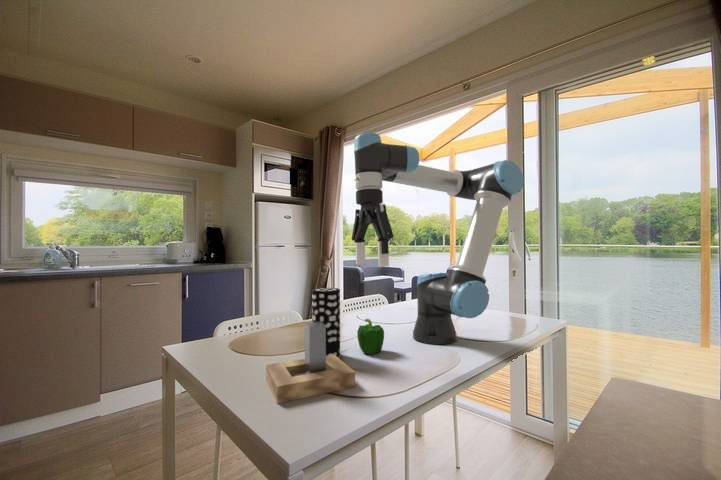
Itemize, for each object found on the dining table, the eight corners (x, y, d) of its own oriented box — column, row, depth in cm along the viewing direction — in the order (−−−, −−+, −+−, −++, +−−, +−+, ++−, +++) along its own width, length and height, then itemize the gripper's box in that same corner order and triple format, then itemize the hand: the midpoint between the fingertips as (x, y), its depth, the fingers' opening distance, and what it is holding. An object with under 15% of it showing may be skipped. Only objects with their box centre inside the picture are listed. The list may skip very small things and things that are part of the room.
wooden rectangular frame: (333, 367, 88) (333, 354, 88) (355, 387, 76) (355, 371, 76) (265, 379, 81) (266, 364, 81) (277, 403, 68) (277, 386, 68)
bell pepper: (387, 355, 98) (386, 322, 98) (360, 357, 96) (359, 323, 97) (380, 347, 106) (380, 316, 106) (355, 348, 105) (355, 317, 105)
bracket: (320, 377, 81) (320, 321, 82) (325, 383, 78) (325, 324, 78) (292, 382, 78) (292, 324, 79) (297, 389, 75) (296, 328, 75)
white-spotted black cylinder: (335, 362, 92) (335, 291, 92) (308, 360, 94) (307, 291, 94) (343, 353, 100) (342, 288, 101) (317, 351, 102) (317, 287, 102)
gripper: (339, 195, 101) (341, 264, 101) (379, 180, 78) (382, 268, 78) (361, 196, 104) (363, 262, 104) (405, 182, 82) (408, 266, 82)
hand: (371, 265), depth 91 cm, fingers open, 13 cm apart
